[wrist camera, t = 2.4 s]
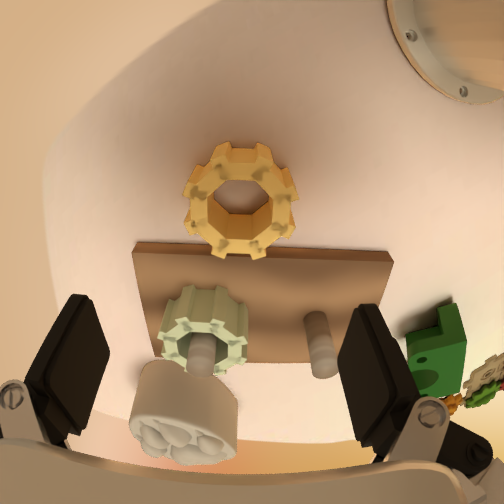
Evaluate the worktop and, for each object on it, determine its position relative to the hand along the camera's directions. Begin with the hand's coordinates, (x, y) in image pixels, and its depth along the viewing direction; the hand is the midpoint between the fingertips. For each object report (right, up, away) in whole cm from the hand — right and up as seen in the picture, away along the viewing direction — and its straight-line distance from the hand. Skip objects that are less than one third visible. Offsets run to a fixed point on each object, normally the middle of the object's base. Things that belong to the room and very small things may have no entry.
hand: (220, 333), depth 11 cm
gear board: (+2, -2, +16) cm, 16 cm away
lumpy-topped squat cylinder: (-7, -14, +24) cm, 28 cm away
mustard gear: (0, +7, +11) cm, 13 cm away
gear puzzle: (+43, -17, +27) cm, 54 cm away
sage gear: (-3, -2, +15) cm, 15 cm away
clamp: (+21, -7, +20) cm, 30 cm away
